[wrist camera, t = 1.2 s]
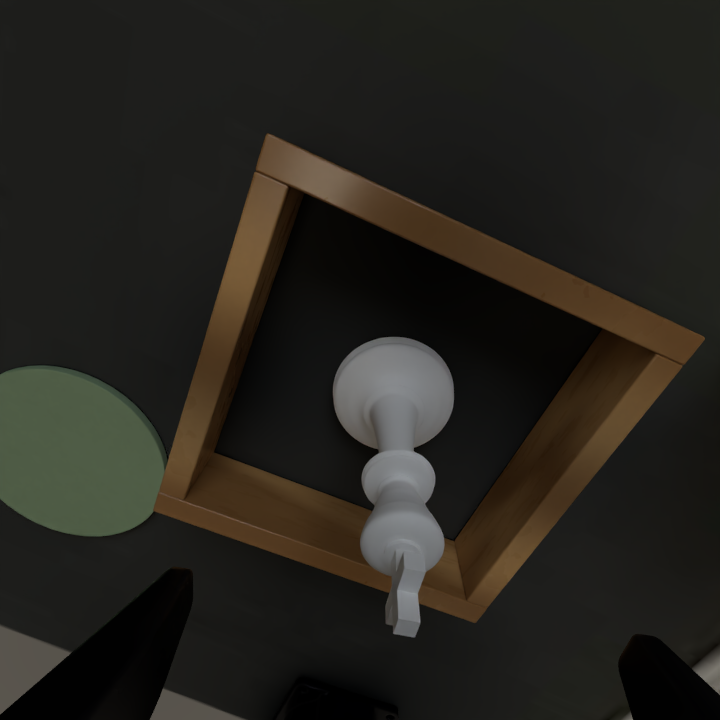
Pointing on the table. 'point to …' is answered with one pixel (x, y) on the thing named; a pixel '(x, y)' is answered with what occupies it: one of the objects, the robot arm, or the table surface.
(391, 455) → the chess piece
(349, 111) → the table surface
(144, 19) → the table surface
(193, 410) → the wooden frame
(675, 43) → the table surface
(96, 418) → the felt coaster
